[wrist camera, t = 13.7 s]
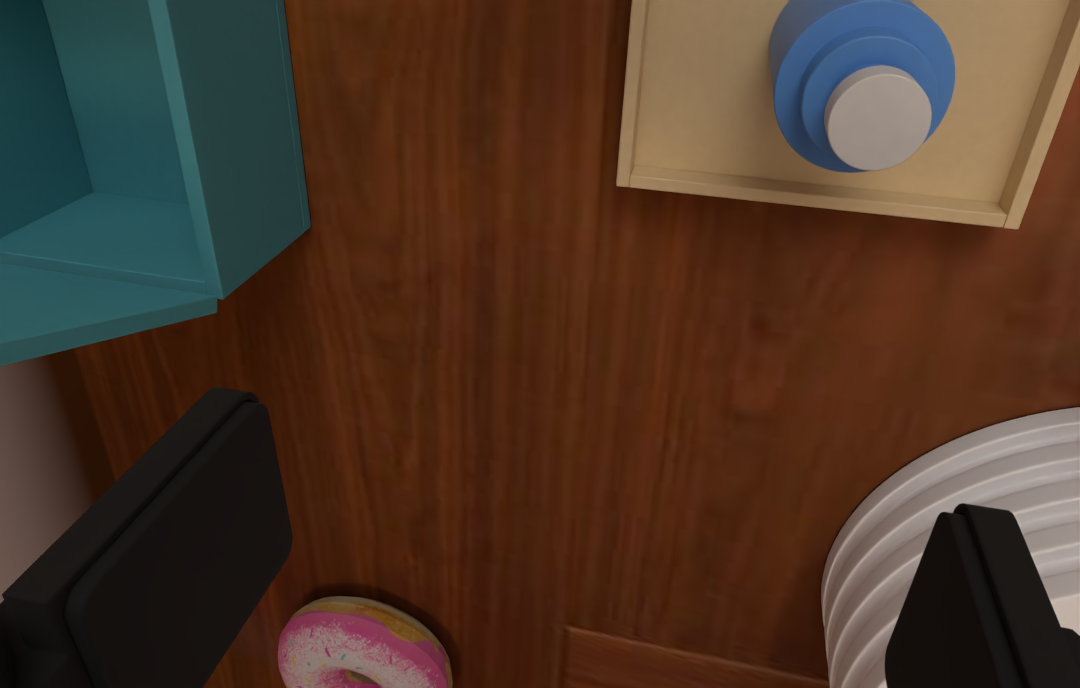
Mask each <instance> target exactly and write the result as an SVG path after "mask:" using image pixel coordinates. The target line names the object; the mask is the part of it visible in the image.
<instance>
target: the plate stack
mask: <svg viewBox="0 0 1080 688" xmlns="http://www.w3.org/2000/svg"><path fill="white" fill-rule="evenodd" d="M962 503H965V504H971V505H977V506H984V507H990V508H997V509H1003V510H1009V511H1010V512H1012V513H1013V515H1014V516H1015V518H1016V520H1017V522H1018V525H1019V527H1020V529H1021V532H1022V534H1023V537H1024V539H1025V541H1026V544H1027V546H1028V549H1029V551H1030V554H1031V556H1032V558H1033V561H1034V563H1035V566H1036V568H1037V570H1038V573H1039V575H1040V578H1041V580H1042V582H1043V585H1044V587H1045V590H1046V592H1047V594H1048V597H1049V599H1050V602H1051V604H1052V607H1053V609H1054V611H1055V614H1056V616H1057V619H1058V621H1059V623H1060V626H1061V627H1063V628H1068V629H1073V630H1074V631H1075V632H1076V633H1077V634H1078V635H1079V636H1080V407H1076V408H1068V409H1061V410H1055V411H1049V412H1044V413H1039V414H1034V415H1029V416H1025V417H1021V418H1017V419H1013V420H1009V421H1006V422H1002V423H999V424H996V425H992V426H989V427H986V428H983V429H981V430H978V431H975V432H972V433H970V434H967V435H965V436H962V437H960V438H957V439H955V440H953V441H951V442H948V443H946V444H944V445H942V446H940V447H938V448H936V449H934V450H932V451H930V452H928V453H927V454H925V455H923V456H921V457H919V458H918V459H916V460H914V461H913V462H911V463H910V464H908V465H907V466H905V467H903V468H902V469H900V470H899V471H898V472H896V473H895V474H894V475H892V476H891V477H890V478H888V479H887V480H886V481H884V482H883V483H882V484H881V485H880V486H879V487H877V488H876V489H875V490H874V491H873V492H872V493H871V494H870V495H869V496H868V497H867V498H866V499H865V500H864V501H863V502H862V503H861V504H860V505H859V506H858V507H857V509H856V510H855V511H854V512H853V513H852V515H851V516H850V517H849V519H848V520H847V521H846V523H845V524H844V526H843V527H842V529H841V530H840V532H839V534H838V536H837V537H836V539H835V541H834V543H833V545H832V548H831V550H830V552H829V555H828V558H827V561H826V564H825V568H824V572H823V578H822V585H821V605H822V615H823V624H824V631H825V645H826V655H827V662H828V675H829V685H830V688H887V684H886V678H885V654H886V649H887V645H888V643H889V640H890V637H891V635H892V632H893V630H894V627H895V625H896V622H897V619H898V617H899V614H900V612H901V609H902V607H903V604H904V601H905V599H906V596H907V594H908V591H909V589H910V586H911V583H912V581H913V578H914V576H915V573H916V571H917V568H918V565H919V563H920V560H921V558H922V555H923V553H924V550H925V547H926V545H927V542H928V540H929V537H930V535H931V532H932V529H933V527H934V524H935V522H936V519H937V517H938V515H939V514H940V513H941V512H948V513H953V511H954V509H955V507H956V506H957V505H959V504H962Z"/></svg>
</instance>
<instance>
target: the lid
mask: <svg viewBox="0 0 1080 688" xmlns="http://www.w3.org/2000/svg"><path fill="white" fill-rule="evenodd" d="M214 313H217V296H213V295H207V294H200V293H194V292H187V291H180V290H174V289H167V288H161V287H154V286H148V285H141V284H135V283H128V282H121V281H115V280H108V279H102V278H95V277H89V276H82V275H76V274H69V273H62V272H56V271H49V270H43V269H36V268H30V267H23V266H17V265H10V264H4V263H0V366H3V365H7V364H11V363H16V362H20V361H24V360H28V359H32V358H36V357H40V356H44V355H48V354H52V353H56V352H60V351H64V350H68V349H72V348H76V347H80V346H84V345H88V344H93V343H97V342H101V341H105V340H109V339H113V338H117V337H121V336H125V335H129V334H133V333H137V332H141V331H145V330H149V329H153V328H157V327H161V326H165V325H169V324H174V323H178V322H182V321H186V320H190V319H194V318H198V317H202V316H206V315H210V314H214Z"/></svg>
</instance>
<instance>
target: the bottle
mask: <svg viewBox="0 0 1080 688" xmlns="http://www.w3.org/2000/svg"><path fill="white" fill-rule="evenodd" d="M769 63H770V72H771V82H772V91H773V100H774V109H775V115H776V119H777V123H778V125H779V128H780V130H781V132H782V134H783V136H784V138H785V139H786V141H787V142H788V143H789V145H790V146H791V147H792V148H793V149H794V150H795V151H796V152H797V153H798V154H799V155H800V156H801V157H803V158H804V159H806V160H807V161H809V162H811V163H813V164H814V165H816V166H819V167H822V168H824V169H827V170H832V171H836V172H845V173H858V172H866V171H878V170H884V169H888V168H891V167H894V166H896V165H898V164H900V163H902V162H904V161H905V160H907V159H908V158H909V157H911V156H912V155H913V154H914V153H915V152H916V151H917V150H918V149H919V148H920V146H921V145H922V144H923V143H924V142H925V141H926V140H927V139H928V138H929V137H930V136H931V135H932V134H933V132H934V131H935V130H936V128H937V127H938V126H939V124H940V123H941V121H942V119H943V117H944V116H945V114H946V112H947V109H948V107H949V105H950V102H951V99H952V95H953V91H954V85H955V62H954V56H953V52H952V49H951V46H950V44H949V42H948V40H947V38H946V36H945V34H944V33H943V31H942V30H941V28H940V27H939V26H938V25H937V24H936V23H935V22H934V21H933V20H932V19H931V18H930V17H929V16H928V15H927V14H925V13H924V12H923V11H922V10H921V9H919V8H918V7H917V6H916V5H915V4H913V3H912V2H911V1H910V0H790V1H789V2H788V3H787V4H786V5H785V7H784V8H783V10H782V11H781V13H780V14H779V16H778V18H777V20H776V22H775V25H774V27H773V30H772V33H771V37H770V43H769Z"/></svg>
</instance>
